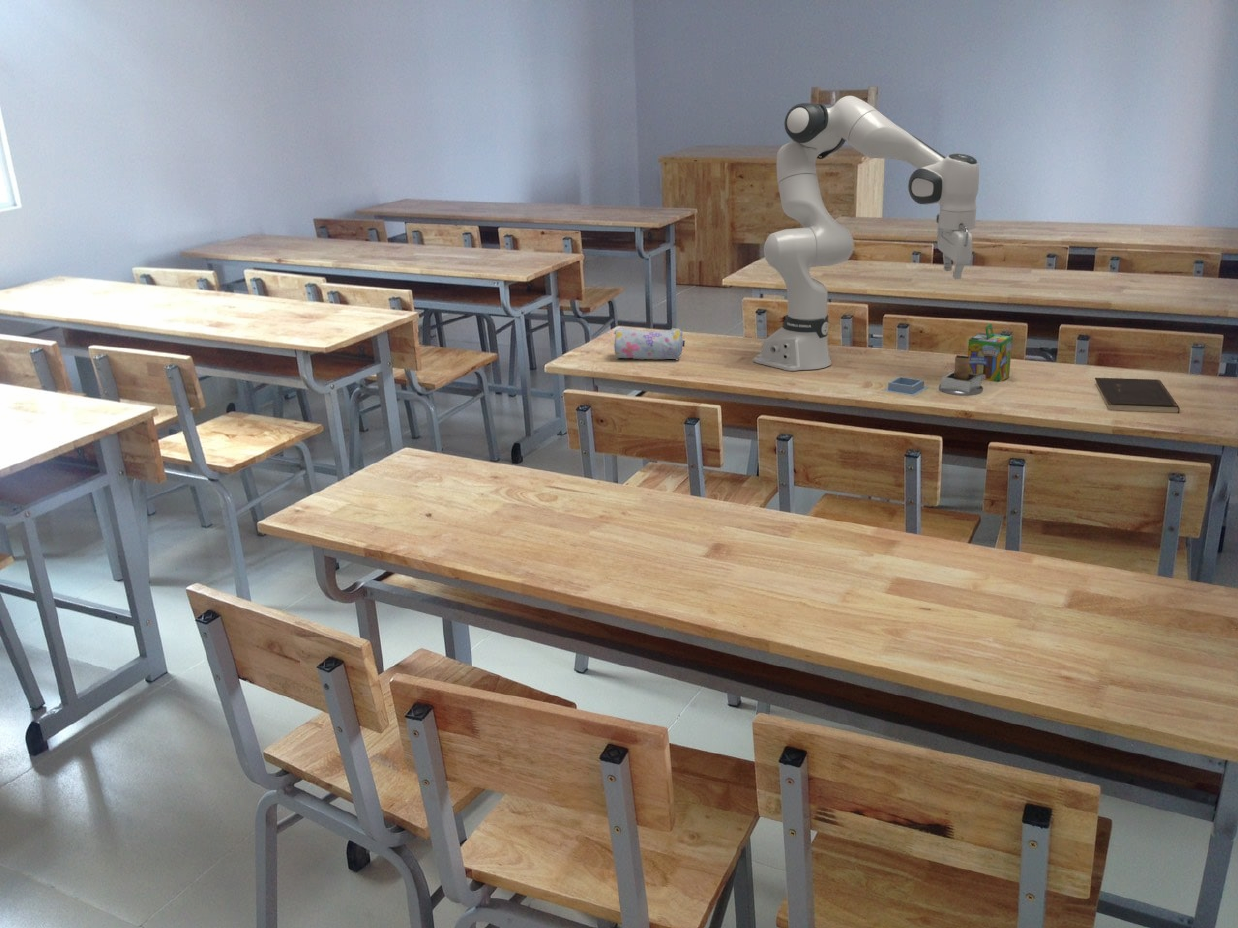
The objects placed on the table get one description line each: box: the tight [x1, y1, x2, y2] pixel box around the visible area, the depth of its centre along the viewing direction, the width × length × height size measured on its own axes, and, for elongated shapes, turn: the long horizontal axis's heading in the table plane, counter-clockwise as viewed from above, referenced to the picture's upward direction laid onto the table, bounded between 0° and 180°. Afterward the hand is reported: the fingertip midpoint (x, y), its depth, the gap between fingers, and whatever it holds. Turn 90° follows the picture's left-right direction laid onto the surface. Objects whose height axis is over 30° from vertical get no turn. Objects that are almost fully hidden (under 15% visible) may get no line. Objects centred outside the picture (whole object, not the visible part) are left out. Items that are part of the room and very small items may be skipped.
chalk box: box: [967, 323, 1013, 383], centre depth 290 cm, size 9×9×15 cm
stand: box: [882, 376, 930, 397], centre depth 283 cm, size 9×9×3 cm
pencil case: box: [613, 327, 686, 360], centre depth 323 cm, size 21×9×10 cm, turn 81°
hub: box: [938, 370, 984, 397], centre depth 281 cm, size 11×11×4 cm
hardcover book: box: [1094, 377, 1180, 414], centre depth 272 cm, size 16×23×2 cm
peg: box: [953, 355, 970, 381], centre depth 280 cm, size 4×4×8 cm
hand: (952, 274), depth 281 cm, fingers open, 8 cm apart
